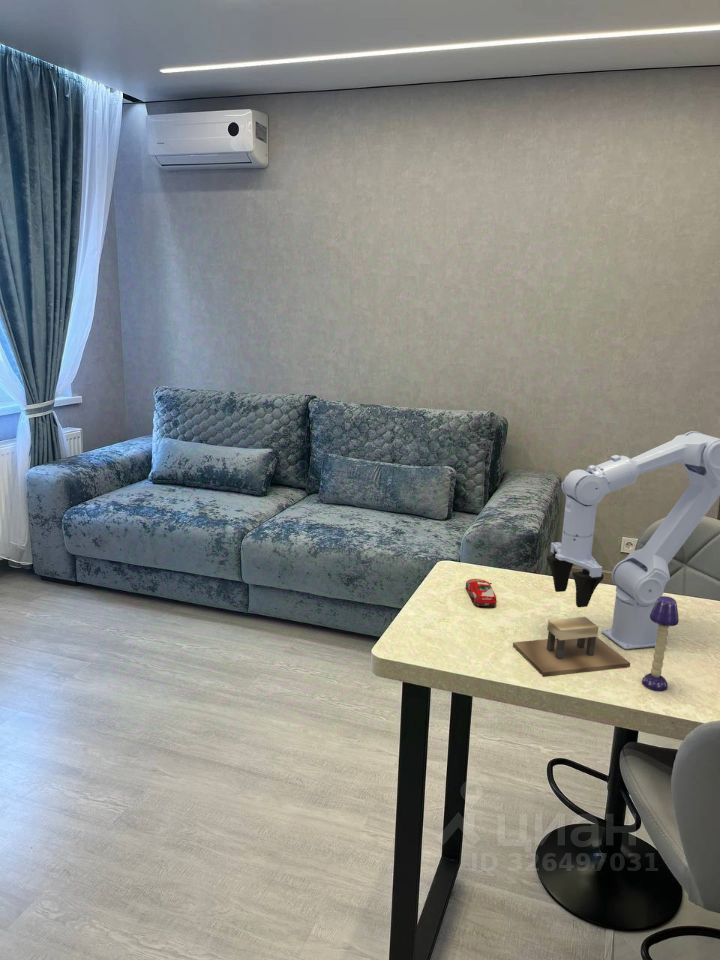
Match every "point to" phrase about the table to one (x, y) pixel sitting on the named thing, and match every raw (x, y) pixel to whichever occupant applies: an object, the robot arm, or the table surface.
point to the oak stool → (571, 634)
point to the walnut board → (569, 657)
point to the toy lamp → (661, 640)
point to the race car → (481, 592)
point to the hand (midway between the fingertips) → (570, 598)
